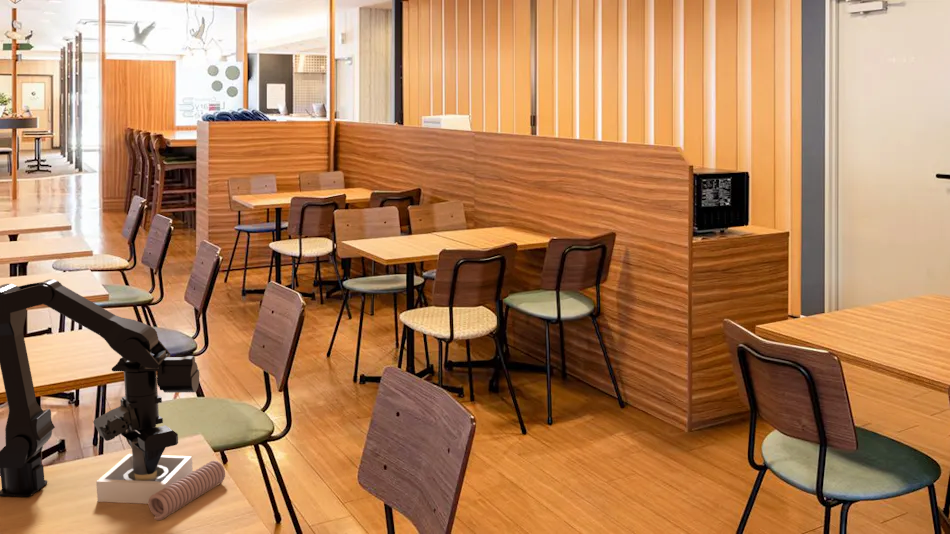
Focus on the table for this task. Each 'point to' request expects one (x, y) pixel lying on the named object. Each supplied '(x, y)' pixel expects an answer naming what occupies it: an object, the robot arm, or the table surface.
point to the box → (128, 490)
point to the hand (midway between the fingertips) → (145, 469)
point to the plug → (140, 464)
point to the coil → (186, 489)
